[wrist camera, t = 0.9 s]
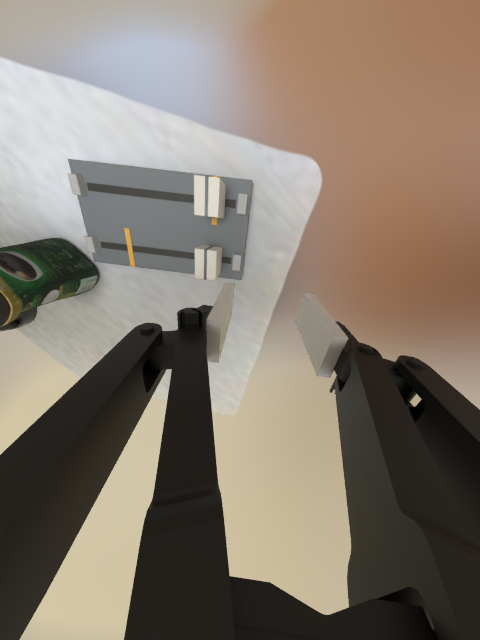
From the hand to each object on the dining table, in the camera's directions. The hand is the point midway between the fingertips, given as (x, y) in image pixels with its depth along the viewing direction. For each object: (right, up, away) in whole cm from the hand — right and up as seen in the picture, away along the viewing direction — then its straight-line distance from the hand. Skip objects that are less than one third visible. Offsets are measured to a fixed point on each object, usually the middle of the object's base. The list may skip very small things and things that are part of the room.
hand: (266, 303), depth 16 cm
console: (-14, +14, +15) cm, 25 cm away
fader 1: (-6, +16, +11) cm, 20 cm away
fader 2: (-7, +9, +15) cm, 18 cm away
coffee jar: (-34, +9, +20) cm, 40 cm away
